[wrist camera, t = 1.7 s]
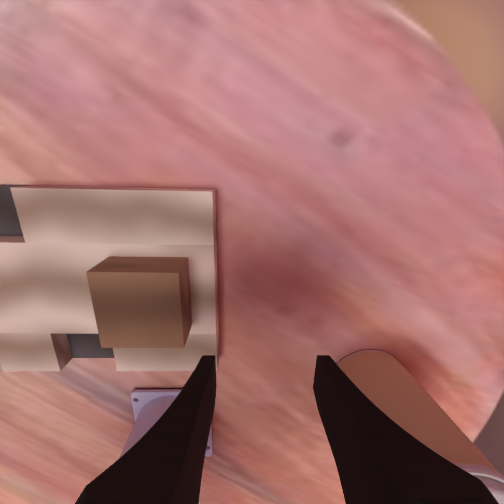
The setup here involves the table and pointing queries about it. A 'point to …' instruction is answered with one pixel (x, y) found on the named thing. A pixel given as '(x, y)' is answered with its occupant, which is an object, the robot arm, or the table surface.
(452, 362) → the table surface
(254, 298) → the table surface
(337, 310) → the table surface
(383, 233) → the table surface
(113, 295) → the walnut block
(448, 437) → the coffee cup
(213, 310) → the board
